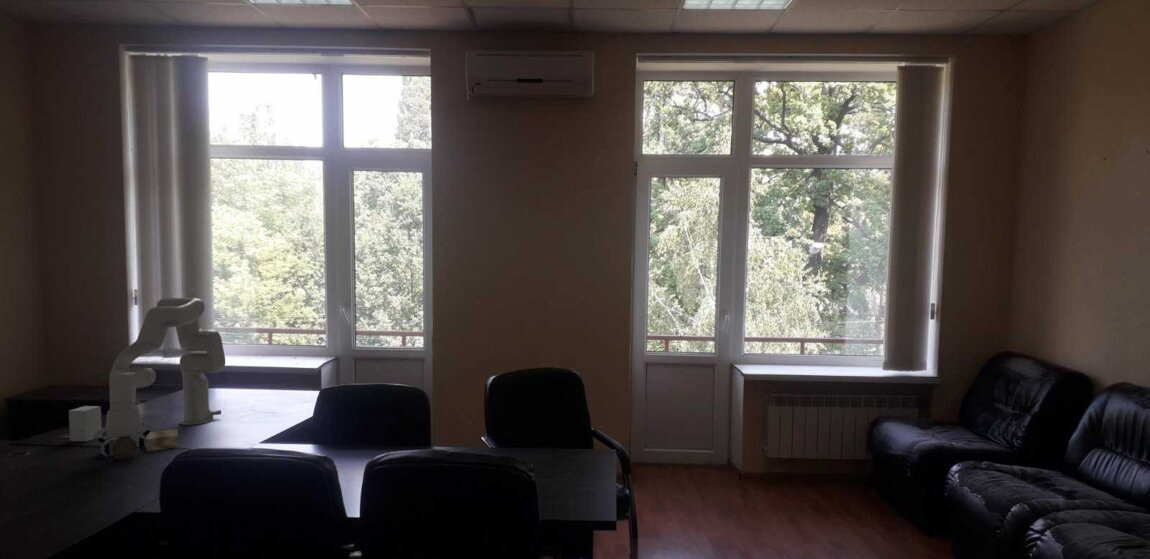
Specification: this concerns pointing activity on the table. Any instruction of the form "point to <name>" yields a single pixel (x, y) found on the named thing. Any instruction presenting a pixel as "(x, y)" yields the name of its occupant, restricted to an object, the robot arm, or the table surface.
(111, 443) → the slate block
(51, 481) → the table surface
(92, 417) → the supplement box
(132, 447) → the vase
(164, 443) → the birch block
